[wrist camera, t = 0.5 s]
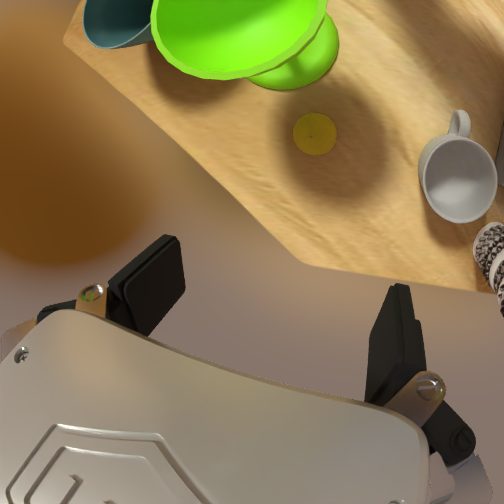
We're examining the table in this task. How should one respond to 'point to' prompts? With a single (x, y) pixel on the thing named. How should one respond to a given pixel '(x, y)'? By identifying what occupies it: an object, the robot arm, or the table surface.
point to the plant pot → (117, 23)
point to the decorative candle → (491, 257)
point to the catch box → (500, 160)
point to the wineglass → (247, 39)
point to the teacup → (457, 173)
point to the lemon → (315, 134)
